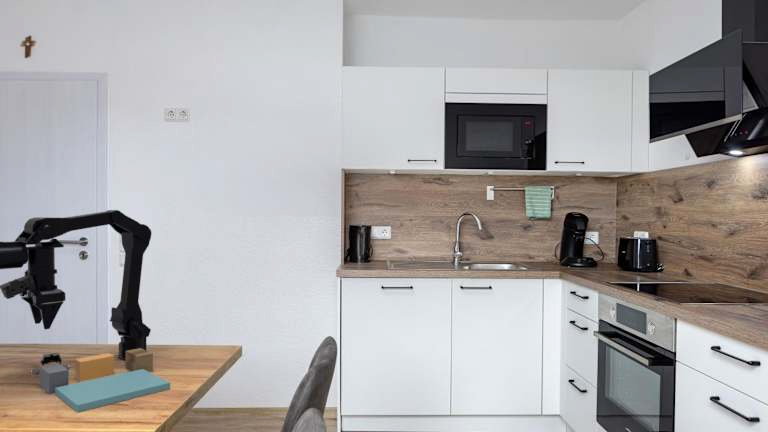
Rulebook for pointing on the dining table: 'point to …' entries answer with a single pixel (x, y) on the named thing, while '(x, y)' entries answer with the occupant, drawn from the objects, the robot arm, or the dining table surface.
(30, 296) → the robot arm
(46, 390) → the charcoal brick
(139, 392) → the teal board
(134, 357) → the walnut brick
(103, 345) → the dining table surface
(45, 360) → the black angular block
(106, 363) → the orange brick
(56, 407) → the dining table surface
